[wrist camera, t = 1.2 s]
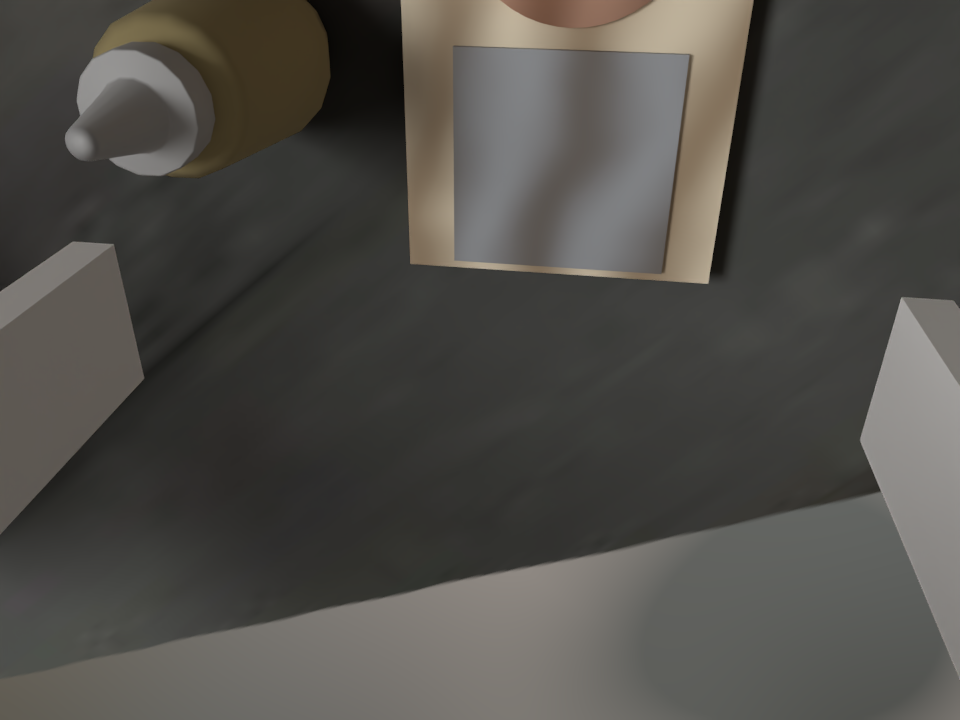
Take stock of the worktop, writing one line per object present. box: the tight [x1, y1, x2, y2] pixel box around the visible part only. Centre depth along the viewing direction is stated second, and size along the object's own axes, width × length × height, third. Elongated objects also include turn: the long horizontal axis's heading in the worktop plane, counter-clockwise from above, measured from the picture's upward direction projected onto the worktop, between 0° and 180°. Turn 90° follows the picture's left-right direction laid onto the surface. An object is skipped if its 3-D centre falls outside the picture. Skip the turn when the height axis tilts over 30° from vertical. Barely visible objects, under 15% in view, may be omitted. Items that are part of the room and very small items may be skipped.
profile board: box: [401, 0, 754, 284], centre depth 40 cm, size 16×24×2 cm, turn 179°
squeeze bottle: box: [65, 0, 331, 178], centre depth 35 cm, size 8×8×18 cm
